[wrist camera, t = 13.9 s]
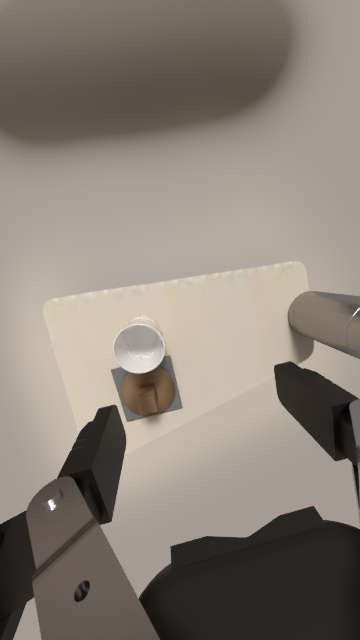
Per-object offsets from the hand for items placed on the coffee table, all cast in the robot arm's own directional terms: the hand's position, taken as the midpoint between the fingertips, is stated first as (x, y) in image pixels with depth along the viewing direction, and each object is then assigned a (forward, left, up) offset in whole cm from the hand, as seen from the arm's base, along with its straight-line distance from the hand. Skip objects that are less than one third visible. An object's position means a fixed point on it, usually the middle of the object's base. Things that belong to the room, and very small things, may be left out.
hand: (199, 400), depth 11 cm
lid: (+8, +16, -32) cm, 36 cm away
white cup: (+6, +4, -32) cm, 33 cm away
